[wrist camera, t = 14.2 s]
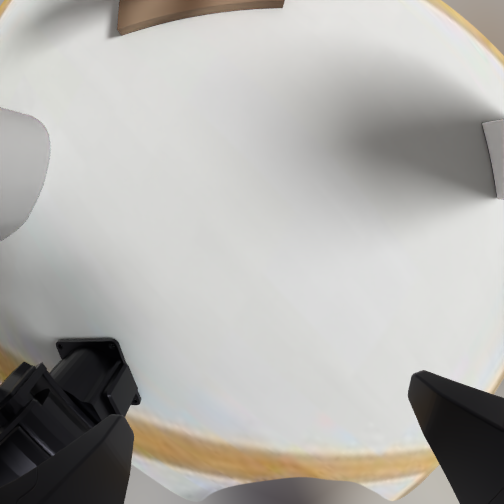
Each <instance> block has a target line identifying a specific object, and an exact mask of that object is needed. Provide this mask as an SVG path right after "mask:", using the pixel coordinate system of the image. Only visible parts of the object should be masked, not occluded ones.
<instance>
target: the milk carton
mask: <svg viewBox="0 0 504 504" xmlns="http://www.w3.org/2000/svg"><path fill="white" fill-rule="evenodd" d="M482 125H483V129H484V133H485V137H486V141H487V145H488V149H489V153H490V158H491V163H492V168H493V174H494V180H495V186H496V193H497V199H502V200H504V119H501V120H495V121H489V122H484V123H482Z"/></svg>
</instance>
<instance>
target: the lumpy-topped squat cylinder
mask: <svg viewBox="0 0 504 504" xmlns="http://www.w3.org/2000/svg"><path fill="white" fill-rule="evenodd" d="M50 152H51V144H50V137H49V134H48V131H47V129H46V127H45V126H44V125H43V123H42V122H40V121H39V120H38V119H36V118H35V117H33V116H30V115H26V114H23V113H19V112H15V111H12V110H8V109H4V108H1V107H0V241H2V240H4V239H5V238H7V237H8V236H10V235H11V234H12V233H14V232H15V231H16V230H17V229H19V228H20V227H21V226H22V225H23V224H24V223H25V222H26V220H27V219H28V217H29V215H30V214H31V212H32V210H33V208H34V205H35V203H36V201H37V199H38V197H39V195H40V192H41V190H42V187H43V185H44V181H45V178H46V174H47V170H48V165H49V160H50Z"/></svg>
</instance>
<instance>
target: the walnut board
mask: <svg viewBox="0 0 504 504" xmlns="http://www.w3.org/2000/svg"><path fill="white" fill-rule="evenodd" d="M283 4H284V0H120V2H119V13H118V26H117V30H118V31H119V32H120V34H121V35H124V34H127V33H131V32H134V31H137V30H140V29H143V28H147V27H150V26H154V25H158V24H162V23H166V22H170V21H174V20H179V19H183V18H188V17H194V16H199V15H205V14H211V13H218V12H226V11H235V10H245V9H260V8H283Z"/></svg>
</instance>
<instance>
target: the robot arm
mask: <svg viewBox="0 0 504 504" xmlns="http://www.w3.org/2000/svg"><path fill="white" fill-rule="evenodd" d="M111 344H113V345H114V346H115V347H113V346H112V345H111ZM61 345H62V346H61ZM56 347H57V349H58V351H59V354H60V356H61V358H62V360H61V361H60V362H59V363H58V364H57V365H56V366H55V367H54V368H53V370H52V371H51V372H50V373H48V371H47V370H46V369H47V368H46V367H45V366H44V364H43V363H40V364H39V365H37V366H36V367H35V366H33V365H32V366H31V365H29V364H28V363H26V362H23V363H22V364H21V365H20V366H19V367H17V368H16V369H15V370H14V371H13V372H12V373H11V374H10V375H9V376H8V377H7V378H6V379H5V380H4V382H3V383H2V384H1V385H0V504H124V499H125V495H126V490H127V486H128V481H129V476H130V469H131V459H132V450H133V442H134V434H133V431H132V429H131V428H130V426H129V424H128V422H127V420H126V418H125V416H126V413H127V411H128V409H129V407H130V405H139V404H140V402H141V397H140V395H139V393H138V388H137V385H136V383H135V381H134V378H133V376H132V373H131V371H130V368H129V366H128V365H127V363H126V361H125V359H124V356H123V353H122V351H121V348H120V345H119V343H118V341H117V340H115V339H79V340H59V341H58V342H57V343H56ZM408 398H409V401H410V403H411V406H412V408H413V410H414V413H415V415H416V418H417V420H418V422H419V425H420V427H421V430H422V432H423V434H424V436H425V438H426V440H427V442H428V443H429V445H430V447H431V449H432V451H433V452H434V454H435V456H436V458H437V460H438V462H439V464H440V465H441V467H442V469H443V471H444V473H445V475H446V477H447V479H448V481H449V482H450V484H451V486H452V488H453V491H454V493H455V495H456V497H457V499H458V501H459V503H460V504H504V398H502V397H499V396H496V395H493V394H490V393H487V392H484V391H481V390H478V389H475V388H472V387H469V386H467V385H464V384H461V383H458V382H455V381H452V380H450V379H447V378H444V377H441V376H439V375H436V374H433V373H431V372H428V371H425V370H422V371H419V372H417V373H414V374H413V375H412V377H411V381H410V386H409V390H408ZM135 399H136V400H135Z"/></svg>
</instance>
